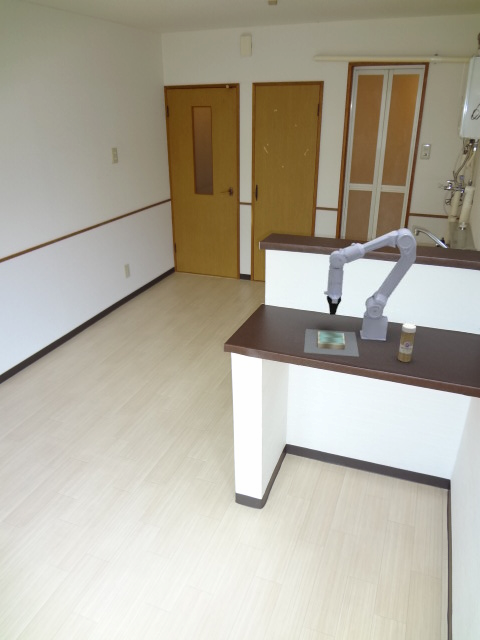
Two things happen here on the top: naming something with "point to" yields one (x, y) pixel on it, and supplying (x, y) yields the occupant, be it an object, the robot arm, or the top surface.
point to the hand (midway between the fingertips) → (332, 314)
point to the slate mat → (312, 347)
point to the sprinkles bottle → (406, 342)
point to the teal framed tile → (331, 340)
